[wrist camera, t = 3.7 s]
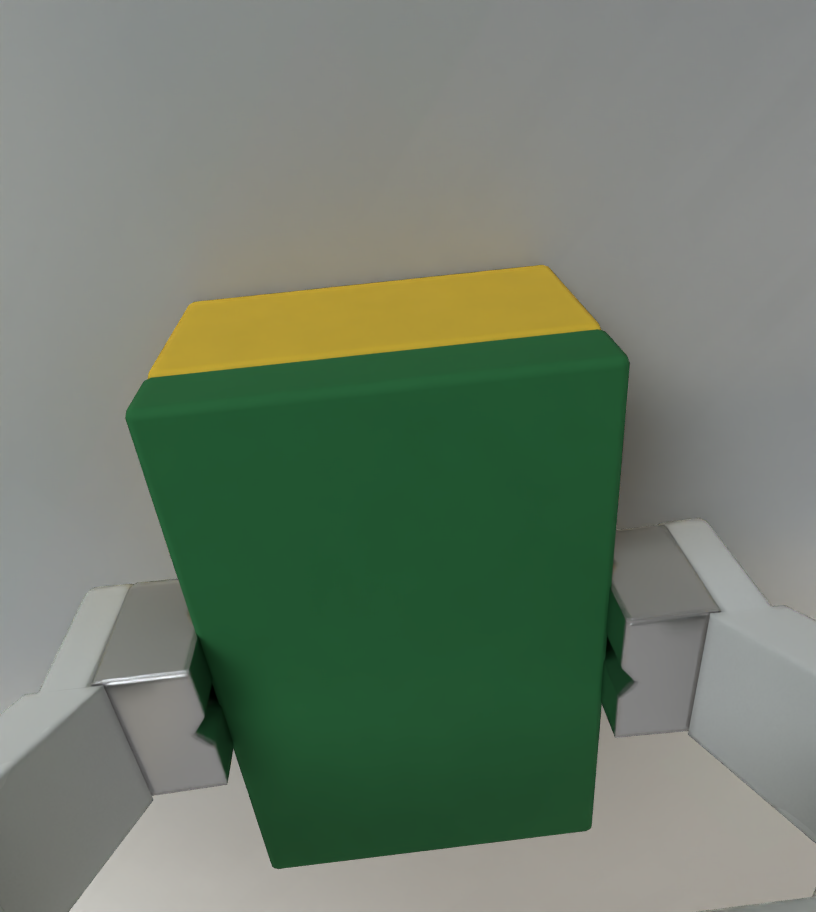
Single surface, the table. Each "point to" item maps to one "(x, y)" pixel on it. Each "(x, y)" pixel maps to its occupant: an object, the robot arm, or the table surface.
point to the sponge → (396, 551)
